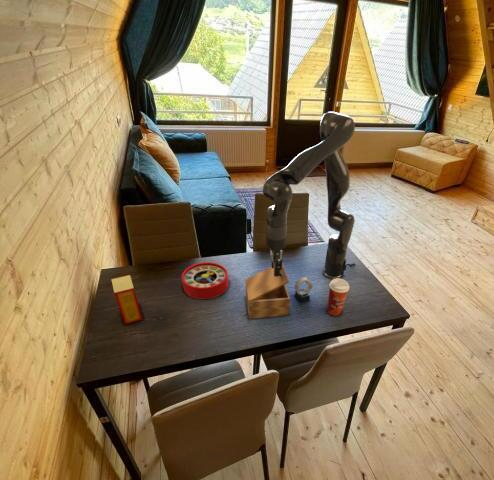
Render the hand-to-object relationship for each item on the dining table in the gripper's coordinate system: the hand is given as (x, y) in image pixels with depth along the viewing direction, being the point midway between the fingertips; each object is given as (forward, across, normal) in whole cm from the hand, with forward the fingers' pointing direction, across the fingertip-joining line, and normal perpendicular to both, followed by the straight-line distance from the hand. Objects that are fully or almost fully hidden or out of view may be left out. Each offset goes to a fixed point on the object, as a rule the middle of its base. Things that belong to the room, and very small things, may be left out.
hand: (275, 271), depth 126 cm
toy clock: (+18, +18, +29) cm, 38 cm away
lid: (+5, 0, +4) cm, 6 cm away
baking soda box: (+17, +2, +58) cm, 60 cm away
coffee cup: (+19, -7, -25) cm, 32 cm away
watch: (+19, +3, -13) cm, 23 cm away
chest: (+18, 0, +4) cm, 18 cm away
